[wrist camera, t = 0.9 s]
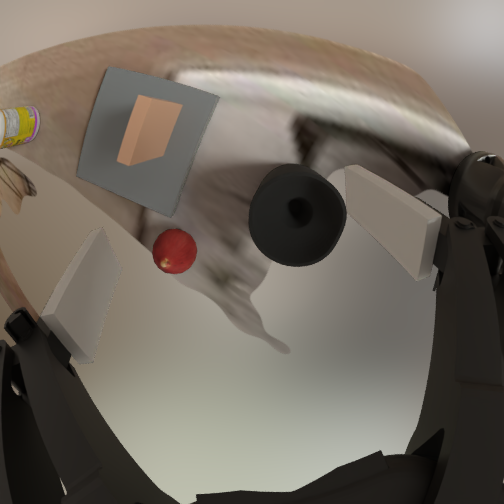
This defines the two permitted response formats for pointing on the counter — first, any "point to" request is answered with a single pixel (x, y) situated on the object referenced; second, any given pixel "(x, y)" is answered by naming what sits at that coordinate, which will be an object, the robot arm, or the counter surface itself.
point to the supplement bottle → (18, 125)
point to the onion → (174, 251)
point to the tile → (148, 130)
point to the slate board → (113, 130)
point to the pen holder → (296, 216)
